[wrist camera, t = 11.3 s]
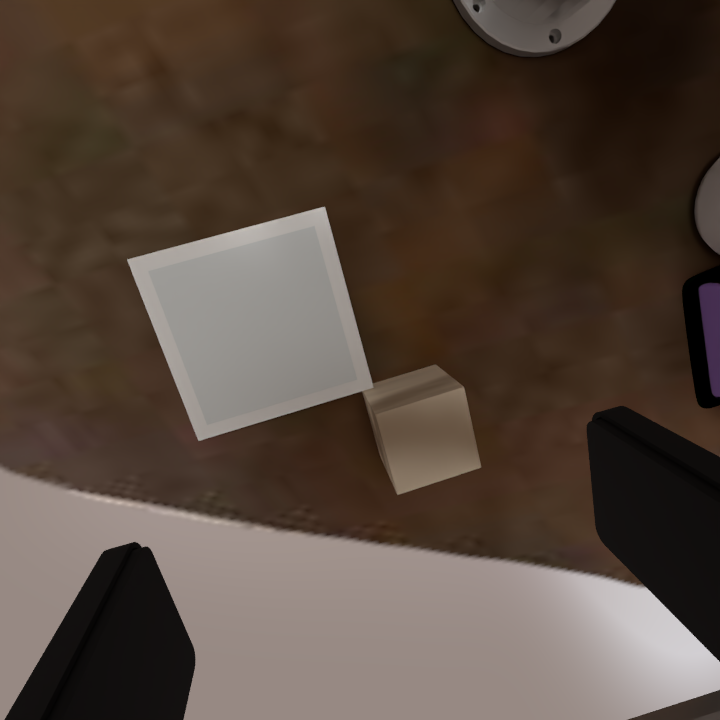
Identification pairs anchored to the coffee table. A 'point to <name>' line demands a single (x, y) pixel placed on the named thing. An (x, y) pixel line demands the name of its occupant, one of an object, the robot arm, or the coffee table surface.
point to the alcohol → (709, 207)
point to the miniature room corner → (704, 334)
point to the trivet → (254, 322)
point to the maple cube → (422, 428)
